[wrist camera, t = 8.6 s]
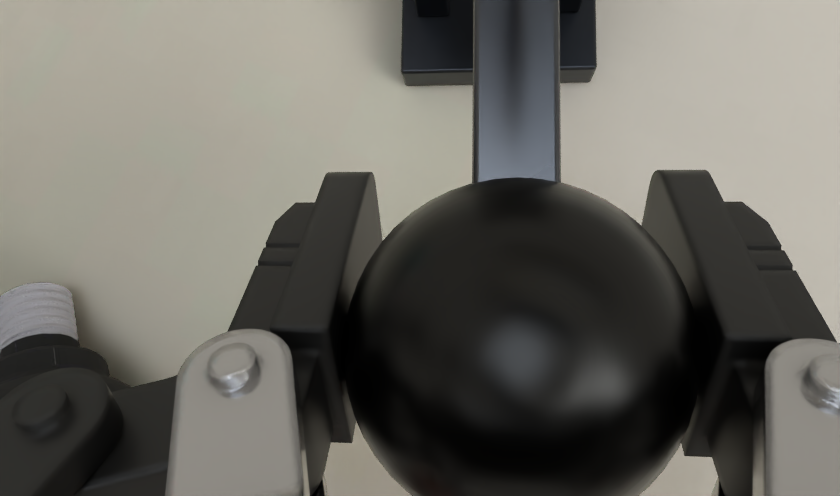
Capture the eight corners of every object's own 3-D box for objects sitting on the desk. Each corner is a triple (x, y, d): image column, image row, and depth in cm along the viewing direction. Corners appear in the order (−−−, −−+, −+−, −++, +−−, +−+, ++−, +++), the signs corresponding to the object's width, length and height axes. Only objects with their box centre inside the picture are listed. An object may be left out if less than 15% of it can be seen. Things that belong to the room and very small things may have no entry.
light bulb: (0, 194, 17) (31, 573, 12) (178, 263, 23) (250, 546, 18) (-144, 316, 19) (-166, 699, 14) (56, 353, 24) (91, 639, 19)
